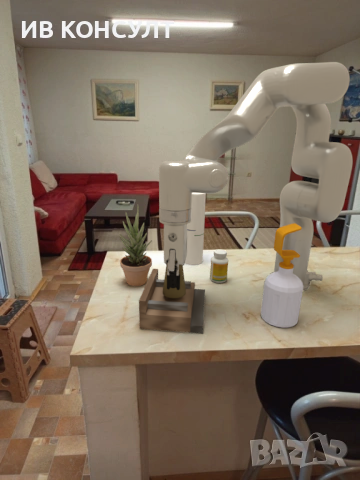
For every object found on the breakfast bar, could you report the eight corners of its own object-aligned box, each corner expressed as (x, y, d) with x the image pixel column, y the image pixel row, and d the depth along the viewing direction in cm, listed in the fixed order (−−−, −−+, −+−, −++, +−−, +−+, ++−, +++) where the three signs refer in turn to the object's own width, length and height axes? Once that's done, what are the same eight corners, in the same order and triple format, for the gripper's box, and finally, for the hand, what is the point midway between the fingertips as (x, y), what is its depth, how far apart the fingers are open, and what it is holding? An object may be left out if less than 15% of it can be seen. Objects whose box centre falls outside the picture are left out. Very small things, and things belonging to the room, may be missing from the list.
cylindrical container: (184, 256, 118) (185, 190, 110) (203, 257, 117) (206, 190, 109) (181, 264, 112) (183, 193, 103) (201, 265, 111) (205, 194, 102)
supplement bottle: (206, 277, 102) (208, 249, 99) (220, 274, 104) (222, 247, 101) (215, 284, 97) (217, 255, 94) (230, 281, 99) (232, 253, 96)
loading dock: (204, 295, 90) (206, 271, 88) (203, 333, 74) (204, 305, 71) (153, 292, 92) (152, 268, 89) (139, 328, 75) (138, 300, 72)
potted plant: (128, 292, 92) (125, 208, 84) (116, 279, 99) (112, 202, 91) (158, 284, 97) (158, 205, 89) (145, 272, 104) (143, 198, 96)
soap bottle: (304, 327, 77) (321, 231, 69) (267, 329, 76) (280, 231, 68) (288, 308, 85) (302, 220, 77) (255, 309, 84) (265, 220, 76)
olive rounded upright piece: (186, 287, 84) (187, 248, 80) (184, 299, 78) (186, 257, 74) (164, 286, 84) (164, 247, 80) (160, 297, 78) (160, 256, 75)
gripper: (188, 225, 66) (186, 302, 72) (193, 207, 82) (191, 271, 88) (153, 224, 67) (154, 300, 73) (164, 206, 83) (164, 270, 89)
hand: (174, 284), depth 80 cm, fingers closed on olive rounded upright piece, 3 cm apart
